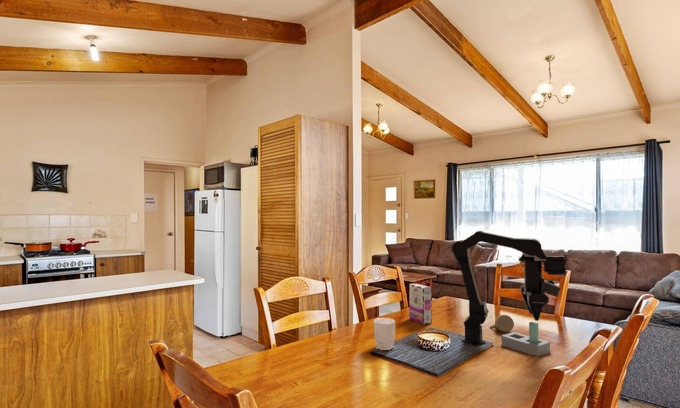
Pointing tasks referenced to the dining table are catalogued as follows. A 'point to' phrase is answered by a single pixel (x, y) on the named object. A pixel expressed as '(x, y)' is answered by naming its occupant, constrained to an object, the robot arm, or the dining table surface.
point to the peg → (533, 332)
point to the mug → (503, 323)
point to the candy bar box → (420, 303)
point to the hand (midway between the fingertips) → (534, 317)
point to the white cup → (384, 333)
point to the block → (525, 344)
